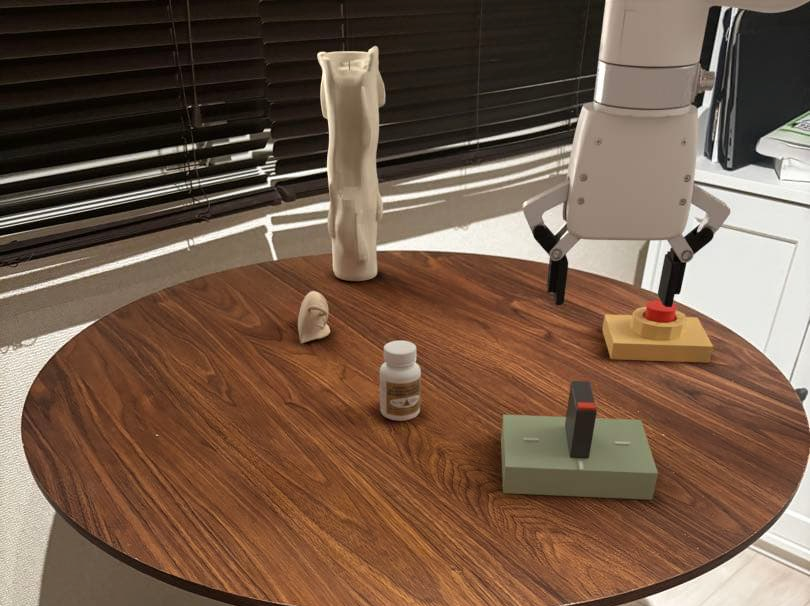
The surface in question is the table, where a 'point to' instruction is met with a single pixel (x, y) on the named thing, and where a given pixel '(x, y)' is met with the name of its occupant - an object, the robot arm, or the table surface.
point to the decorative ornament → (313, 317)
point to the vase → (353, 158)
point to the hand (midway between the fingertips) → (610, 300)
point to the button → (660, 312)
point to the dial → (580, 419)
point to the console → (576, 459)
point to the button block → (656, 338)
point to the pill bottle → (400, 381)
